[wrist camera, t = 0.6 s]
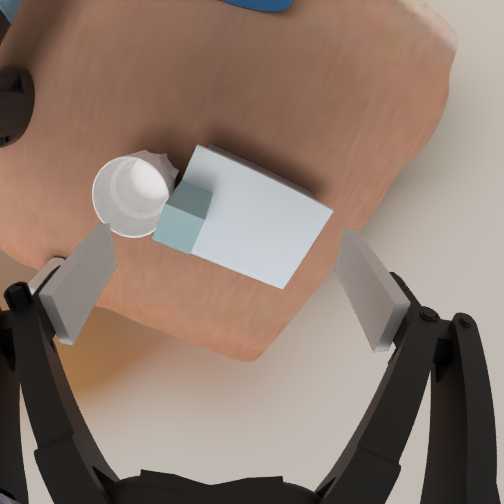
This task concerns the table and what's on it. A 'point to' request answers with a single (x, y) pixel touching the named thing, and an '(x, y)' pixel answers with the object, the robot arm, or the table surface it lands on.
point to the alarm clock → (261, 4)
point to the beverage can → (44, 273)
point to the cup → (133, 192)
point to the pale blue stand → (240, 218)
